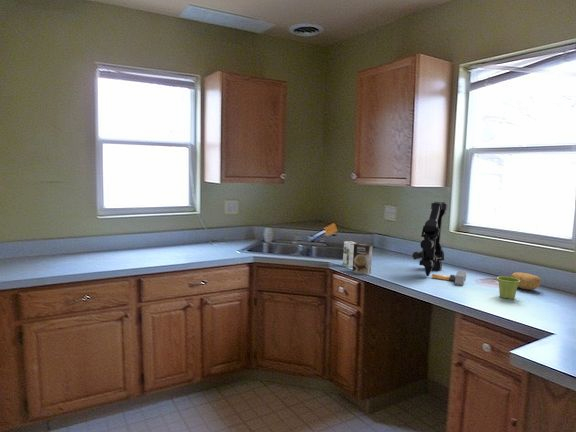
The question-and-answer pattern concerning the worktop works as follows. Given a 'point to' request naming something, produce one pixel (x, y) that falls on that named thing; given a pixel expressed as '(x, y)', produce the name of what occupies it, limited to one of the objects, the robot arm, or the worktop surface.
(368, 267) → the coffee box
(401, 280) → the worktop surface
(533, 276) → the potato
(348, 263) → the syrup box
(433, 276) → the plug
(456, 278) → the housing
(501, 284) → the plant pot
